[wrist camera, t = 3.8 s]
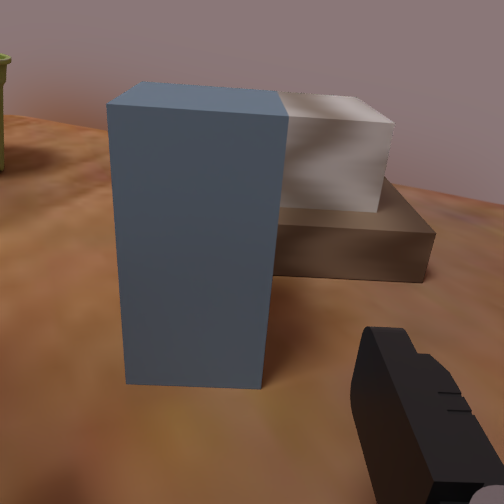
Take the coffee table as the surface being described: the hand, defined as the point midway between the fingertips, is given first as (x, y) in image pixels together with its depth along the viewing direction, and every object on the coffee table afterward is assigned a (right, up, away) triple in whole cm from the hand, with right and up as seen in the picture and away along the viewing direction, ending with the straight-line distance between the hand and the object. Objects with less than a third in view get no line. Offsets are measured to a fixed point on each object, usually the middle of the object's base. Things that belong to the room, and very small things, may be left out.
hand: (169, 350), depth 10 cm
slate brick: (0, -2, +10) cm, 10 cm away
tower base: (+4, +4, +22) cm, 22 cm away
